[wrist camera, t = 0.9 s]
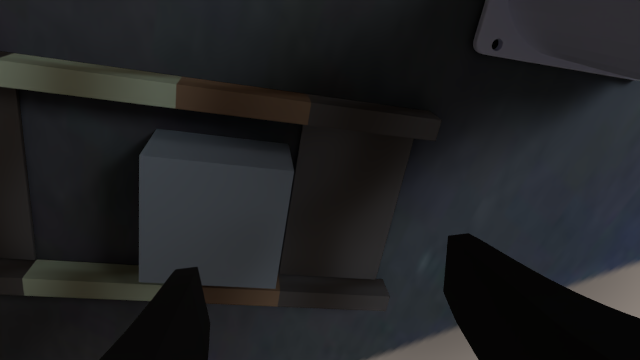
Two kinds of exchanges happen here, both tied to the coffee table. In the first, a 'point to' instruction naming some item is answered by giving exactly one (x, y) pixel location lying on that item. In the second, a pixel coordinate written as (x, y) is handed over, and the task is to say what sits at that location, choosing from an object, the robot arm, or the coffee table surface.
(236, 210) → the block
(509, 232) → the coffee table surface
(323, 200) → the trap lane
